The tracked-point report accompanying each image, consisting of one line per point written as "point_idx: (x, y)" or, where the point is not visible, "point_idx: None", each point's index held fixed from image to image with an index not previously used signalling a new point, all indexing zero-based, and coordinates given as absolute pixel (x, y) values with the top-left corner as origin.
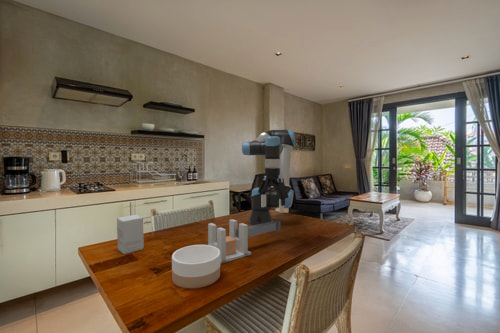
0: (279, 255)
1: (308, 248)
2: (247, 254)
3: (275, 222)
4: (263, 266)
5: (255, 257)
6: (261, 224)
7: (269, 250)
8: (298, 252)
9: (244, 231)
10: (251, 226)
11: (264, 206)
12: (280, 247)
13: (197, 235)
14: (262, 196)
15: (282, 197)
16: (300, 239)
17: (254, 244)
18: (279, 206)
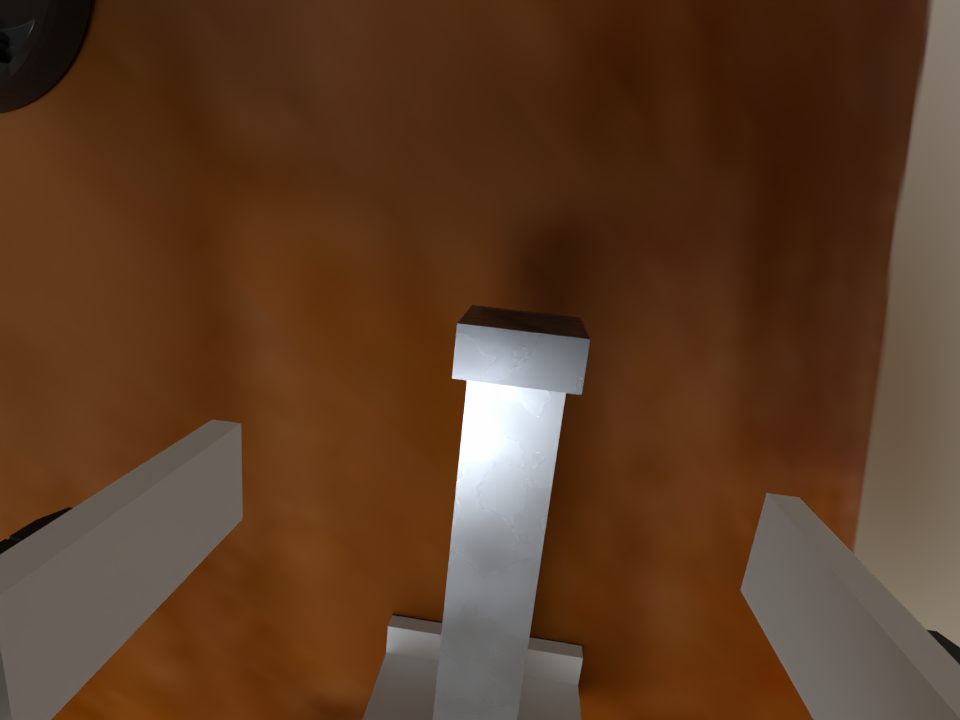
0: (748, 528)
1: (872, 233)
2: (577, 680)
3: (538, 387)
4: (768, 714)
5: (637, 658)
6: (478, 573)
7: (628, 510)
8: (841, 378)
9: None
10: (459, 694)
11: (238, 469)
12: (655, 401)
13: None
14: (59, 697)
15: None
16: (679, 76)
17: None
18: (808, 689)
